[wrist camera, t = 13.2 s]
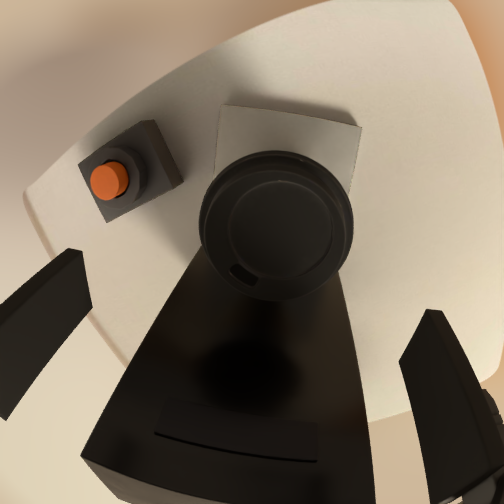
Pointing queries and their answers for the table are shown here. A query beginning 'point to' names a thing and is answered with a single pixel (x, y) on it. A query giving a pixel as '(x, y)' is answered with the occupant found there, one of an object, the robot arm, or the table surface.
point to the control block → (135, 168)
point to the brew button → (109, 180)
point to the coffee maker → (244, 372)
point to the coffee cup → (276, 225)
